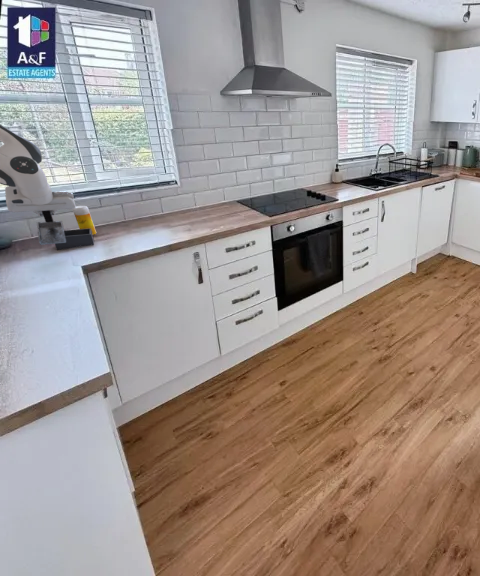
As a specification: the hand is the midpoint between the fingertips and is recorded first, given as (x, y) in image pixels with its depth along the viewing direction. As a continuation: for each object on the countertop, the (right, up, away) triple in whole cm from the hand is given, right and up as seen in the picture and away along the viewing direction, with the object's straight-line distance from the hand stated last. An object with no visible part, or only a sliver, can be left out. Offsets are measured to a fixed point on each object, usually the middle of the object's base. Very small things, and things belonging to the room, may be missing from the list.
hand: (47, 214), depth 151 cm
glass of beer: (-11, -4, +36) cm, 38 cm away
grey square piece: (+1, -8, +1) cm, 8 cm away
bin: (-4, -11, +20) cm, 23 cm away
